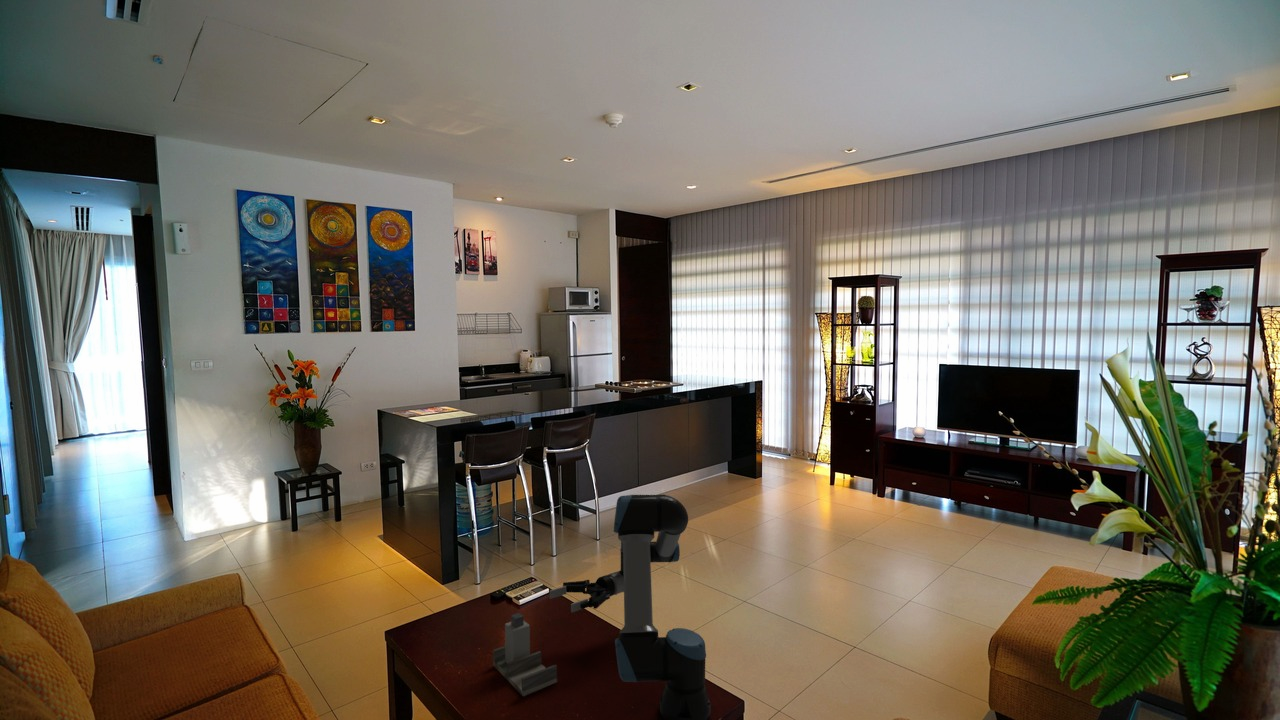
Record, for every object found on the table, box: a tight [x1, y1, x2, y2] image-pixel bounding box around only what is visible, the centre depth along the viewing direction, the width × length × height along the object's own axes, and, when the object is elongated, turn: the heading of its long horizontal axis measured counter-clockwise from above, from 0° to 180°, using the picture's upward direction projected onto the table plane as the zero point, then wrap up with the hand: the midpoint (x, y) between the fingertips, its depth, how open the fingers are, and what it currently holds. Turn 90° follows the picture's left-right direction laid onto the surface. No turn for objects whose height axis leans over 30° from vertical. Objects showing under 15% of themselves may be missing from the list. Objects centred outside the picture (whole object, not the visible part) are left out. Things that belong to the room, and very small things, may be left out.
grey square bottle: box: [504, 612, 531, 663], centre depth 202 cm, size 6×6×16 cm
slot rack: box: [492, 645, 558, 697], centre depth 199 cm, size 21×12×6 cm, turn 39°
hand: (560, 601), depth 209 cm, fingers open, 13 cm apart
